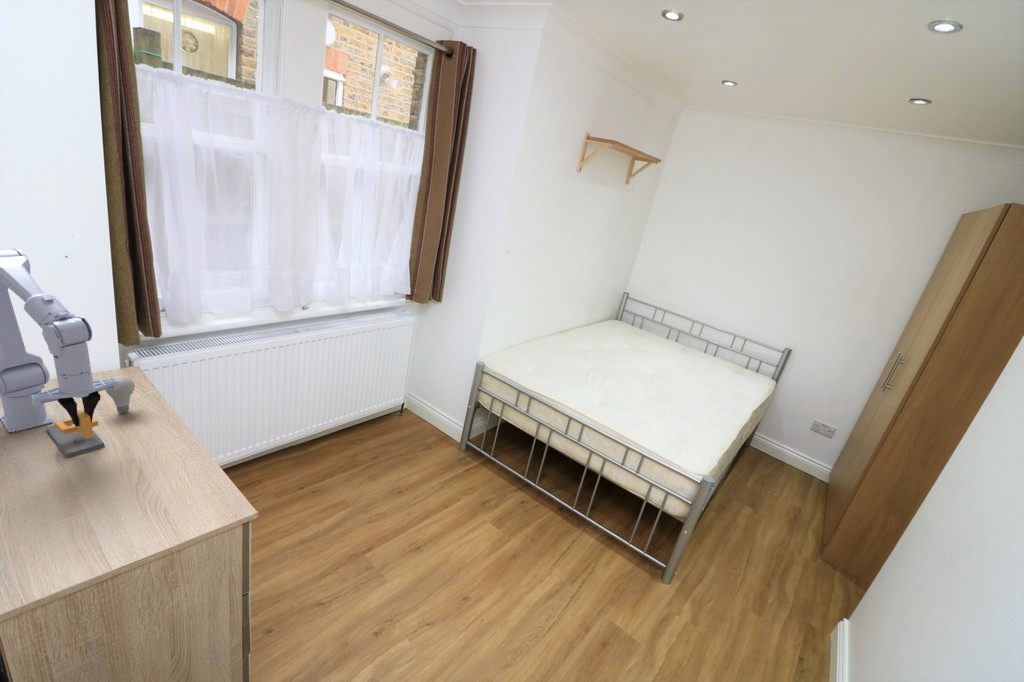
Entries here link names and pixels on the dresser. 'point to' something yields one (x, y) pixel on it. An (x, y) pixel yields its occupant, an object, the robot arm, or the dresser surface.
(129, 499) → the dresser surface
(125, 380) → the lightbulb
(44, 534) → the dresser surface
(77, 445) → the keeper board
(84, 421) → the orange loop handle block
